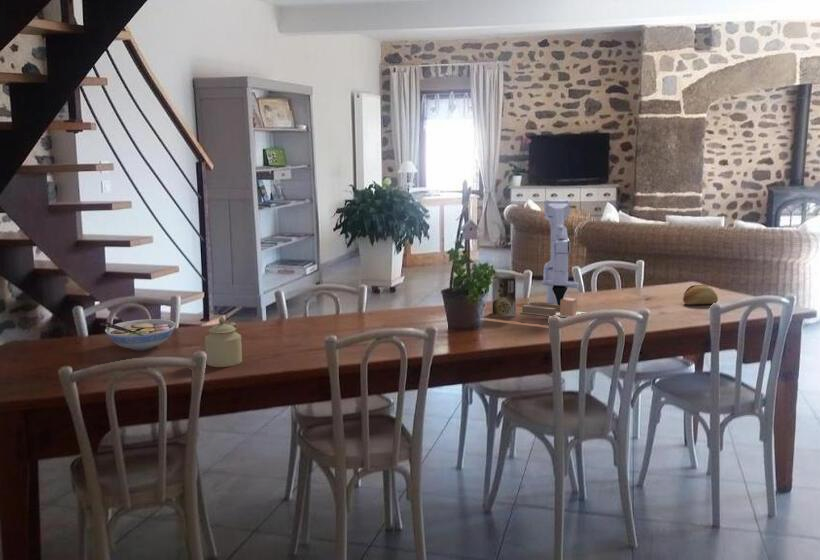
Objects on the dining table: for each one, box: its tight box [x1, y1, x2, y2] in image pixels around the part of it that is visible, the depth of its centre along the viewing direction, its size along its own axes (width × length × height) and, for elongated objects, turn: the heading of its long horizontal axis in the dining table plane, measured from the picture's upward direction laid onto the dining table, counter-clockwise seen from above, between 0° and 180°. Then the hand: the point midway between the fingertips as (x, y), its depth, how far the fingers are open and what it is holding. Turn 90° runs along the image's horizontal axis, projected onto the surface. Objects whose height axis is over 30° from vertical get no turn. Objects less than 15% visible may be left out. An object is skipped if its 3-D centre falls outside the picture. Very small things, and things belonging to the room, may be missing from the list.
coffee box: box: [491, 274, 517, 317], centre depth 294 cm, size 9×6×16 cm
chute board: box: [521, 301, 586, 318], centre depth 296 cm, size 12×24×4 cm, turn 59°
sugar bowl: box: [204, 315, 243, 368], centre depth 238 cm, size 15×11×15 cm
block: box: [560, 297, 578, 316], centre depth 293 cm, size 4×5×6 cm
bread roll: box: [682, 284, 719, 306], centre depth 313 cm, size 10×15×8 cm, turn 103°
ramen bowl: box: [99, 318, 176, 351], centre depth 256 cm, size 25×23×8 cm
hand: (559, 304), depth 295 cm, fingers closed
